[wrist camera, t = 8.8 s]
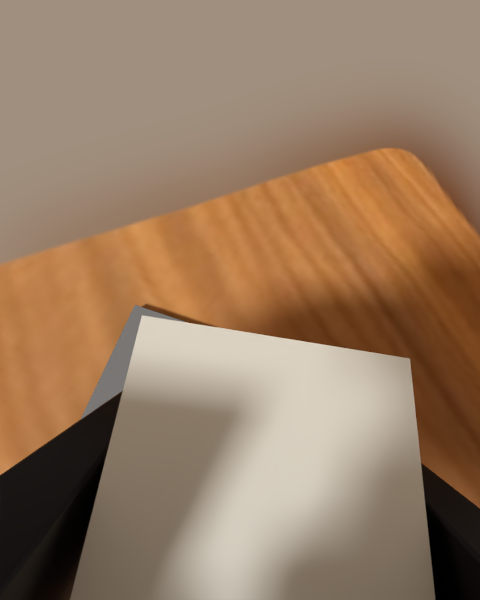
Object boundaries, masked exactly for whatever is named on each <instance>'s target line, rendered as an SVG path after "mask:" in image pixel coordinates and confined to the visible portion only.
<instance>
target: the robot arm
mask: <svg viewBox="0 0 480 600" xmlns="http://www.w3.org/2000/svg"><path fill="white" fill-rule="evenodd" d="M122 392H123V391H121V392H120V393H118V394H117V395H115V396H114V397H113V398H111V399H110V400H108V401H107V402H105V403H104V404H102V405H101V406H100V407H98V408H97V409H95V410H94V411H92V412H91V413H89V414H88V415H87V416H85V417H84V418H82V419H81V420H79V421H78V422H76V423H75V424H74V425H72V426H71V427H69V428H68V429H66V430H65V431H63V432H62V433H61V434H59V435H58V436H56V437H55V438H53V439H52V440H50V441H49V442H48V443H46V444H45V445H43V446H42V447H40V448H39V449H37V450H36V451H35V452H33V453H32V454H30V455H29V456H27V457H26V458H25V459H23V460H22V461H20V462H19V463H17V464H16V465H14V466H13V467H12V468H10V469H9V470H7V471H6V472H4V473H3V474H1V475H0V600H70V598H71V594H72V590H73V586H74V582H75V578H76V574H77V570H78V566H79V562H80V558H81V554H82V550H83V546H84V542H85V538H86V534H87V530H88V526H89V522H90V519H91V515H92V511H93V507H94V503H95V499H96V495H97V491H98V487H99V483H100V479H101V475H102V471H103V467H104V463H105V459H106V455H107V451H108V447H109V443H110V439H111V435H112V431H113V428H114V424H115V420H116V416H117V412H118V408H119V404H120V400H121V396H122ZM421 468H422V478H423V487H424V497H425V506H426V515H427V525H428V534H429V544H430V553H431V563H432V572H433V582H434V591H435V600H480V508H478V507H477V506H476V505H474V504H473V503H472V502H471V501H469V500H468V499H467V498H465V497H464V496H463V495H462V494H460V493H459V492H458V491H456V490H455V489H454V488H453V487H451V486H450V485H449V484H448V483H446V482H445V481H444V480H442V479H441V478H440V477H439V476H437V475H436V474H435V473H433V472H432V471H431V470H430V469H428V468H427V467H426V466H424V465H423V464H422V463H421Z"/></svg>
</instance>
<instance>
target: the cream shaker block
mask: <svg viewBox="0 0 480 600" xmlns="http://www.w3.org/2000/svg"><path fill="white" fill-rule="evenodd" d="M70 600H435V591H434V582H433V572H432V563H431V553H430V544H429V534H428V525H427V515H426V506H425V497H424V487H423V478H422V468H421V459H420V449H419V440H418V430H417V421H416V411H415V402H414V393H413V383H412V374H411V364H410V358H404V357H397V356H391V355H385V354H379V353H373V352H366V351H360V350H354V349H348V348H342V347H335V346H329V345H323V344H317V343H311V342H304V341H298V340H292V339H286V338H280V337H273V336H267V335H261V334H255V333H249V332H242V331H236V330H230V329H224V328H218V327H211V326H205V325H199V324H193V323H187V322H180V321H174V320H168V319H162V318H155V317H149V316H143V315H142V317H141V321H140V325H139V329H138V333H137V336H136V340H135V344H134V348H133V352H132V356H131V360H130V364H129V368H128V372H127V376H126V380H125V384H124V388H123V392H122V396H121V400H120V404H119V408H118V412H117V416H116V420H115V424H114V428H113V431H112V435H111V439H110V443H109V447H108V451H107V455H106V459H105V463H104V467H103V471H102V475H101V479H100V483H99V487H98V491H97V495H96V499H95V503H94V507H93V511H92V515H91V519H90V522H89V526H88V530H87V534H86V538H85V542H84V546H83V550H82V554H81V558H80V562H79V566H78V570H77V574H76V578H75V582H74V586H73V590H72V594H71V598H70Z"/></svg>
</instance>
